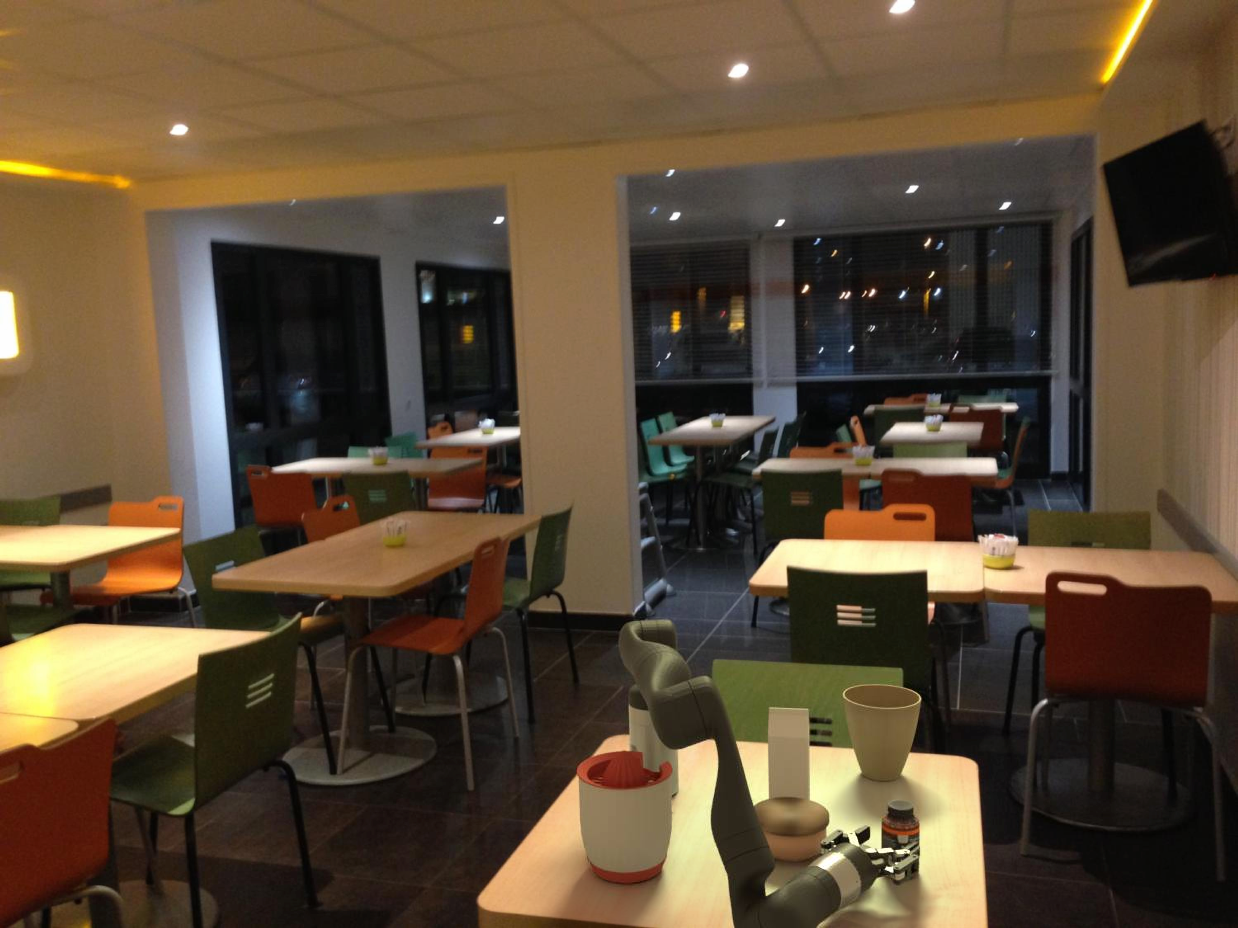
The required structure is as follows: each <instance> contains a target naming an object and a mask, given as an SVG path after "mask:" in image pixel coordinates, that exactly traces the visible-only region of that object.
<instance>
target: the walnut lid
mask: <svg viewBox="0 0 1238 928" xmlns="http://www.w3.org/2000/svg"><path fill="white" fill-rule="evenodd" d="M753 805H754V808H755V811H756V814H757V816H758V819H759V821H760V824H761V826H762V829H763V831H765V832H768V833H771V834H776V835H781V836H807V835H812V834H815V833H818V832H820V831H822V830H824V829H825V828H826V829H827V828H828V826H829V824H830V812H829V810H828V809H827V808H826V806H824V805H823V804H820V803H819V802H816V801H814V800H811V799H810V800H808V799H803V798H796V797H777V798H771V799H769V798H767V799H763V800H761V801H759V802H756V804H753Z"/></svg>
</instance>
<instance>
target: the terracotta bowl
mask: <svg viewBox="0 0 1238 928" xmlns="http://www.w3.org/2000/svg"><path fill="white" fill-rule="evenodd" d="M764 834H765V836H766V839H767V841H768V844H769V847H770V849H771V852H772V854H773V857H774V859H776V860H780V861H784V862H803V861H805V860H808V859H810V858H812V857H814V856H817V855H819V854H821V841H822V840H824V839H825V838H826V837H828V835H827V827H826V828H825V829H824V830H822V831H820V832H818V833H815V834H812V835H807V836H781V835H776V834H771V833H768V832H765V831H764Z"/></svg>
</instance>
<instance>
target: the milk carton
mask: <svg viewBox="0 0 1238 928" xmlns="http://www.w3.org/2000/svg"><path fill="white" fill-rule="evenodd" d="M767 725H768V726H767V753H768V754H767V757H768V758H767V761H768V762H767V765H768V769H767V770H768V771H767V772H768V773H767V774H768V799H771V798H777V797H796V798H803V799H808V800H811V789H810V788H811V787H810V785H811V781H810V779H811V777H810V776H811V775H810V774H811V773H810V770H811V769H810V764H811V763H810V761H811V760H810V716H809V709H808V708H790V707H789V708H788V707H787V708H786V707H768V724H767Z"/></svg>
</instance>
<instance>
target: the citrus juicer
mask: <svg viewBox="0 0 1238 928" xmlns="http://www.w3.org/2000/svg"><path fill="white" fill-rule="evenodd" d="M672 771H673V768H672V766H671V764H670V763H669V762H668V761H666V762H664V763H663V764H661V765H660V766H659V772H653V771H651V770H649V769H646V768H643V752H637V751H629V750H625V749H623V750H620V751H610V752H605V753H600V754H596V755H593V756H591V757H589V758H586V759H585V760H584V761H582V762H581V763H580V764H579V765H578V767H577V769H576V774H577V778H578V797H579V798H578V799H579V801H578V802H579V823H580V824H579V825H580V833H581V839H582V843H583V847H584V850H585V853H586V858H587V860H588V863H589V865H590V867H591V870H592V871H593V873H594V874H595V875H596V876H597V877H599V878H600V879H603V880H606V881H609V882H613V883H619V884H620V883H621V884H624V885H630V884H633V883H638V882H643V881H647V880H649V879H651V878H653V877H656V876H657V875H658V874H659V873H660V872H661V871H662V869H663V867H664V864H665V862H666V860H667V857H668V851H669V847H670V843H671V836H672V831H673V830H672V828H673V804H672V802H673V801H672V800H673V799H672V798H673V797H672V796H673V795H672V793H671V783H672V781H671V774H672Z"/></svg>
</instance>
